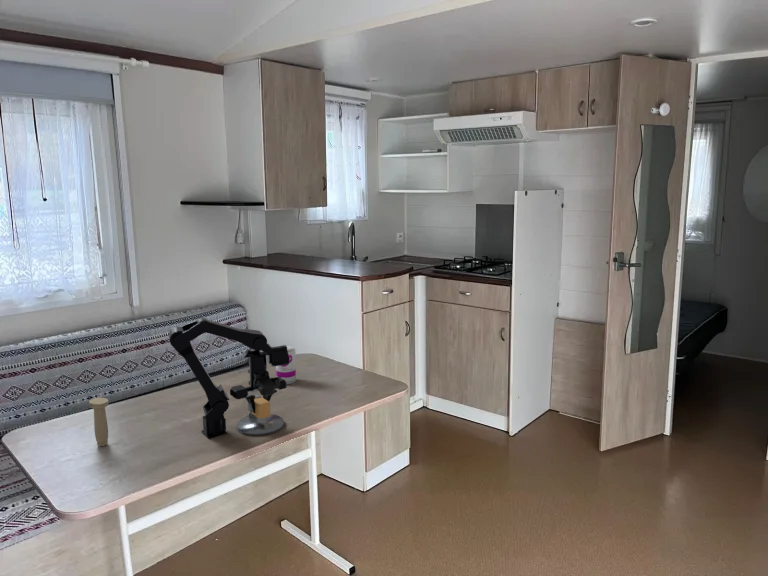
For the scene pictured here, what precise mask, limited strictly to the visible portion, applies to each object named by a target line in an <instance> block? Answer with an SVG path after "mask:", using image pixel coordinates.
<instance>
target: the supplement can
mask: <svg viewBox="0 0 768 576" xmlns="http://www.w3.org/2000/svg"><path fill="white" fill-rule="evenodd" d="M285 345H286V346H287V351H288V356H289V364H288V365H282V366H275V375H276V376H275V377H280V378H282V379H284V380H285V381H286V383H287V385H291V384H294V383H295V382H296V380H297V368H296V367H297V365H296V349H295V347H294V346H293V345H291V344H285Z"/></svg>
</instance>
